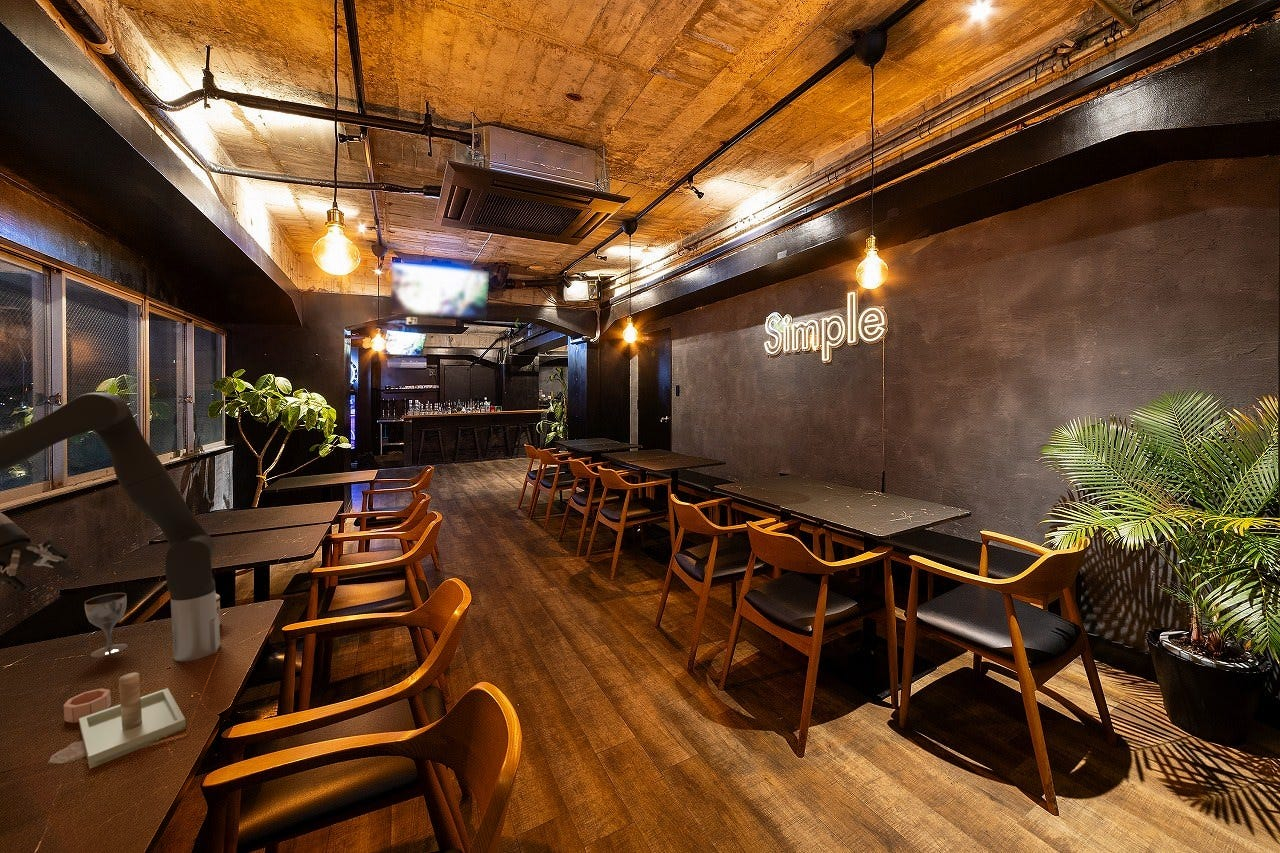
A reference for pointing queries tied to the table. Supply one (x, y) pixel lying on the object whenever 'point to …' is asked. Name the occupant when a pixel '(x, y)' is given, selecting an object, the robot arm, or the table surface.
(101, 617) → the wine glass
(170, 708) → the sage tray
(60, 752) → the flatbread
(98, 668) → the table surface
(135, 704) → the beech pin
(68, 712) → the pin holder cup
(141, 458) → the robot arm
